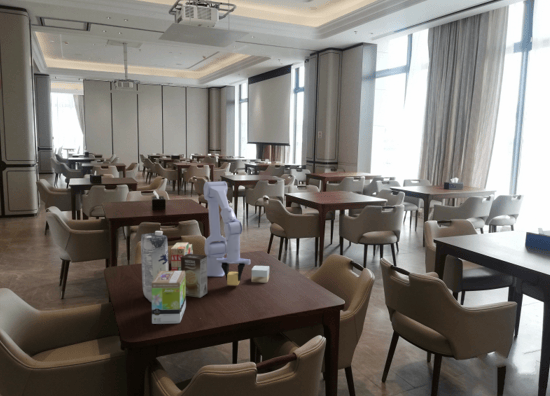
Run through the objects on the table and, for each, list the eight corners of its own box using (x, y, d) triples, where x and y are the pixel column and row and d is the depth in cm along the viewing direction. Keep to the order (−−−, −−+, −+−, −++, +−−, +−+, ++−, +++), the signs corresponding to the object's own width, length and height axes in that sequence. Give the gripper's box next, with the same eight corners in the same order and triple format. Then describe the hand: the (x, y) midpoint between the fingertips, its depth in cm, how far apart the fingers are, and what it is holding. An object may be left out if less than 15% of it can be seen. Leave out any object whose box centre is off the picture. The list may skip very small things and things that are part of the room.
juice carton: (148, 303, 168) (146, 235, 164) (141, 296, 176) (138, 230, 173) (171, 299, 172) (169, 232, 169) (162, 292, 181) (160, 228, 178)
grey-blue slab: (251, 276, 194) (251, 269, 194) (254, 271, 201) (254, 265, 201) (267, 277, 193) (267, 270, 193) (269, 272, 200) (269, 266, 200)
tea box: (181, 323, 149) (180, 281, 147) (151, 324, 148) (149, 282, 147) (186, 307, 164) (185, 269, 162) (159, 308, 163) (158, 270, 161)
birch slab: (251, 283, 194) (251, 276, 194) (254, 278, 201) (254, 272, 201) (267, 283, 194) (267, 277, 193) (269, 278, 200) (269, 272, 200)
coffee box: (180, 295, 177) (179, 256, 175) (188, 290, 183) (187, 253, 181) (200, 297, 174) (199, 258, 172) (208, 292, 180) (207, 255, 178)
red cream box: (181, 261, 229) (180, 238, 228) (193, 261, 229) (192, 238, 228) (171, 273, 208) (170, 248, 207) (184, 273, 208) (183, 248, 207)
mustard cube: (227, 284, 186) (227, 274, 185) (229, 281, 190) (229, 271, 190) (237, 285, 185) (237, 275, 185) (239, 281, 190) (239, 271, 189)
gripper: (214, 251, 183) (214, 282, 184) (248, 252, 181) (248, 283, 183) (218, 247, 190) (218, 277, 191) (251, 248, 188) (251, 278, 190)
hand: (233, 280), depth 188 cm, fingers closed on mustard cube, 4 cm apart
